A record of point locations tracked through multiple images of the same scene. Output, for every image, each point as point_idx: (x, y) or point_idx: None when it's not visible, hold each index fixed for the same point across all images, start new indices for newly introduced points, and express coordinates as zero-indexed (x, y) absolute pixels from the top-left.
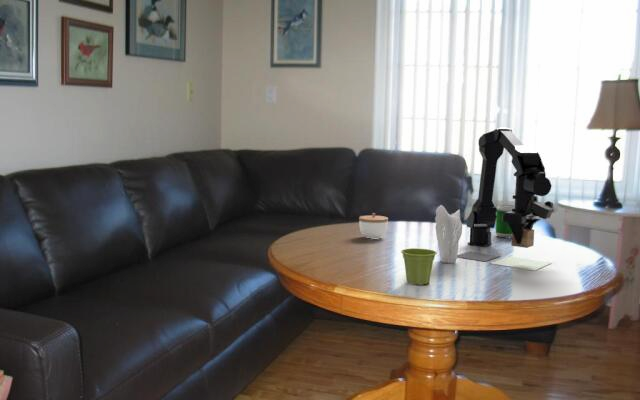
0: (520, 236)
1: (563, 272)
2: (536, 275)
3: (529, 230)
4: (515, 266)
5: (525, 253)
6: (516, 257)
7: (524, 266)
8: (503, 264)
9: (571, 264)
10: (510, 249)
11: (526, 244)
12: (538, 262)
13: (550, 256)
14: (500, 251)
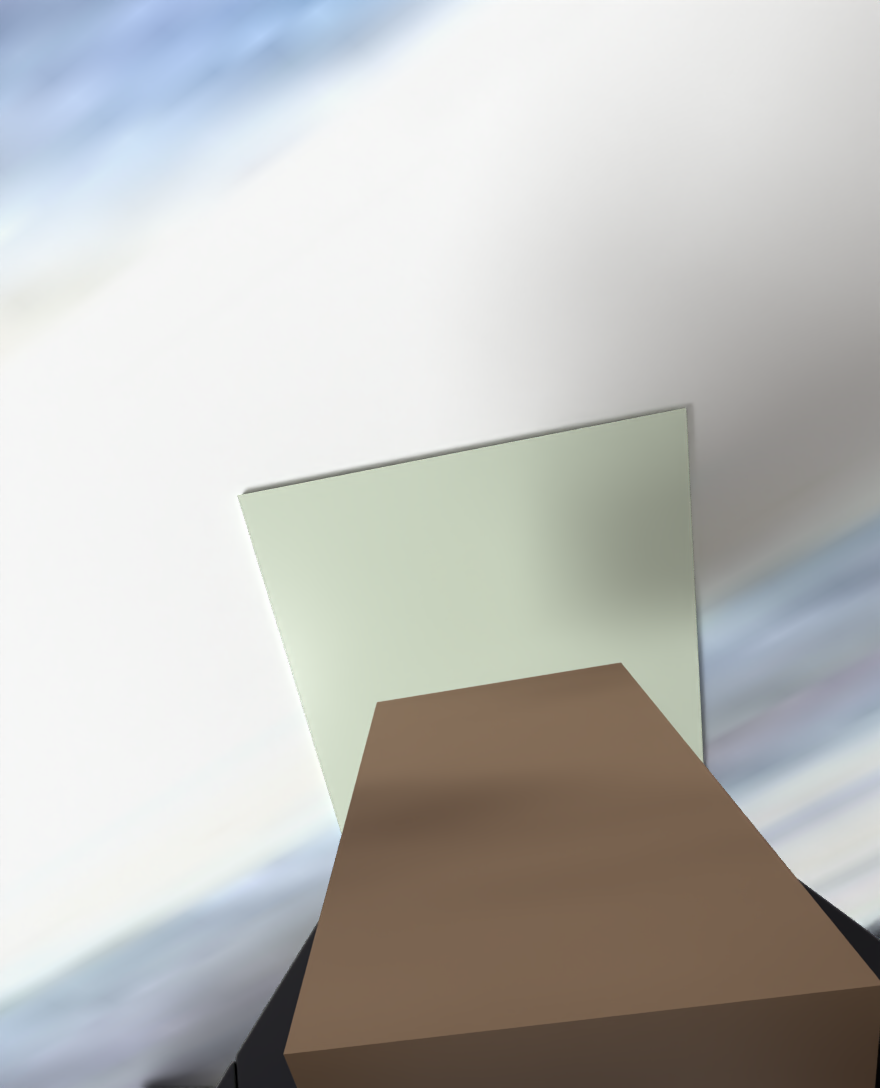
0: (833, 915)
1: (510, 168)
2: (859, 275)
3: (579, 1061)
4: (668, 606)
5: (113, 839)
6: (333, 791)
7: (604, 559)
8: (670, 708)
9: (98, 347)
10: (105, 965)
11: (647, 702)
12: (340, 579)
13: (4, 667)
14: (234, 966)
